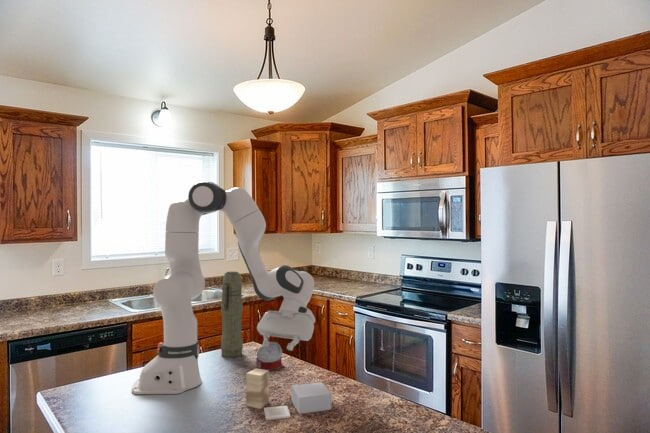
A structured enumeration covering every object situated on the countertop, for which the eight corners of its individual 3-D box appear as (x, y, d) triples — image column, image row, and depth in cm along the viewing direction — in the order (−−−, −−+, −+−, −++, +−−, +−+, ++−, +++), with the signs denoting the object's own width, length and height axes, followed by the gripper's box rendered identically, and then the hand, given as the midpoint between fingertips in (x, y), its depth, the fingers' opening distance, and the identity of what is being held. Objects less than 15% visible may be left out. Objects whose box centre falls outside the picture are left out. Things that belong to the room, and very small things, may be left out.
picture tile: (266, 420, 126) (266, 417, 126) (263, 409, 133) (263, 407, 133) (290, 417, 127) (290, 414, 127) (287, 407, 134) (287, 405, 134)
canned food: (281, 376, 175) (292, 355, 173) (262, 380, 167) (272, 358, 165) (266, 357, 182) (275, 337, 180) (247, 360, 174) (256, 339, 172)
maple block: (260, 408, 133) (260, 375, 133) (246, 405, 135) (246, 373, 136) (268, 402, 138) (269, 370, 138) (255, 399, 140) (255, 368, 140)
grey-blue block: (299, 414, 130) (299, 397, 130) (291, 401, 140) (291, 385, 140) (331, 410, 133) (331, 393, 133) (321, 397, 143) (321, 382, 143)
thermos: (247, 351, 191) (247, 270, 192) (234, 360, 180) (235, 274, 180) (229, 350, 194) (229, 270, 194) (215, 358, 182) (215, 273, 183)
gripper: (263, 305, 158) (247, 339, 149) (314, 310, 150) (300, 346, 141) (269, 315, 162) (254, 348, 153) (319, 320, 154) (306, 356, 145)
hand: (276, 347), depth 147 cm, fingers open, 8 cm apart
